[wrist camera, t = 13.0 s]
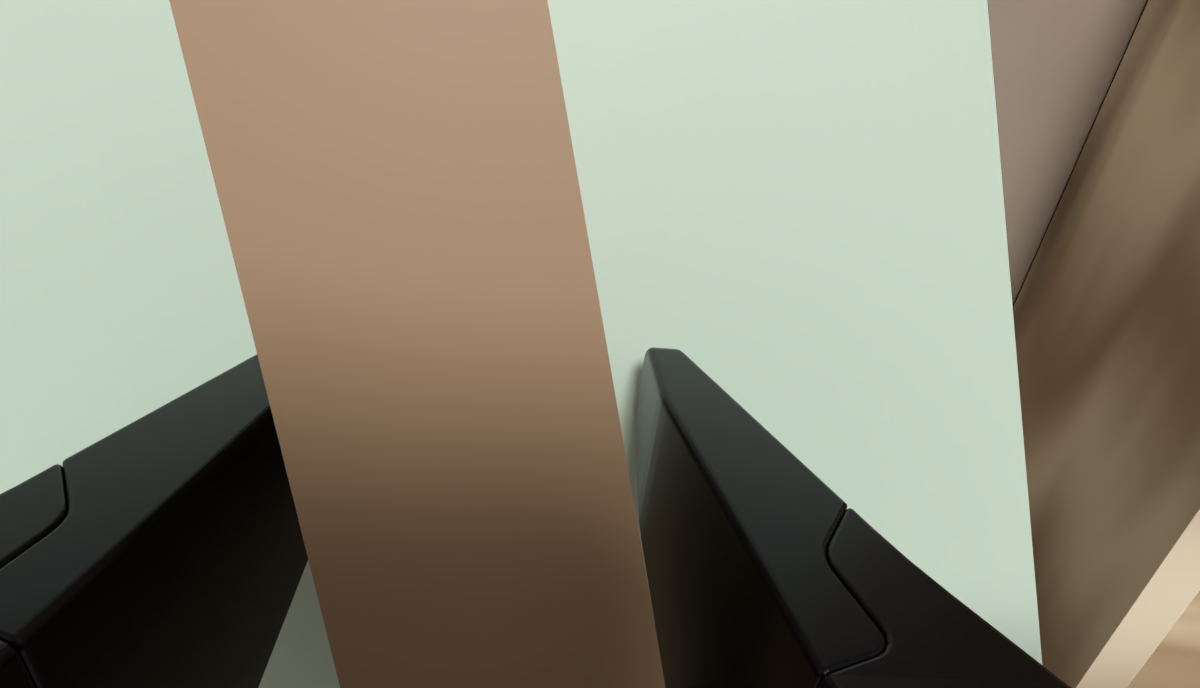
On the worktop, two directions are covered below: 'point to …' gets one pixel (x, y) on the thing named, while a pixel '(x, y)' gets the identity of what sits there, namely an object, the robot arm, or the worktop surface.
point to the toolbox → (1121, 379)
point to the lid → (519, 288)
